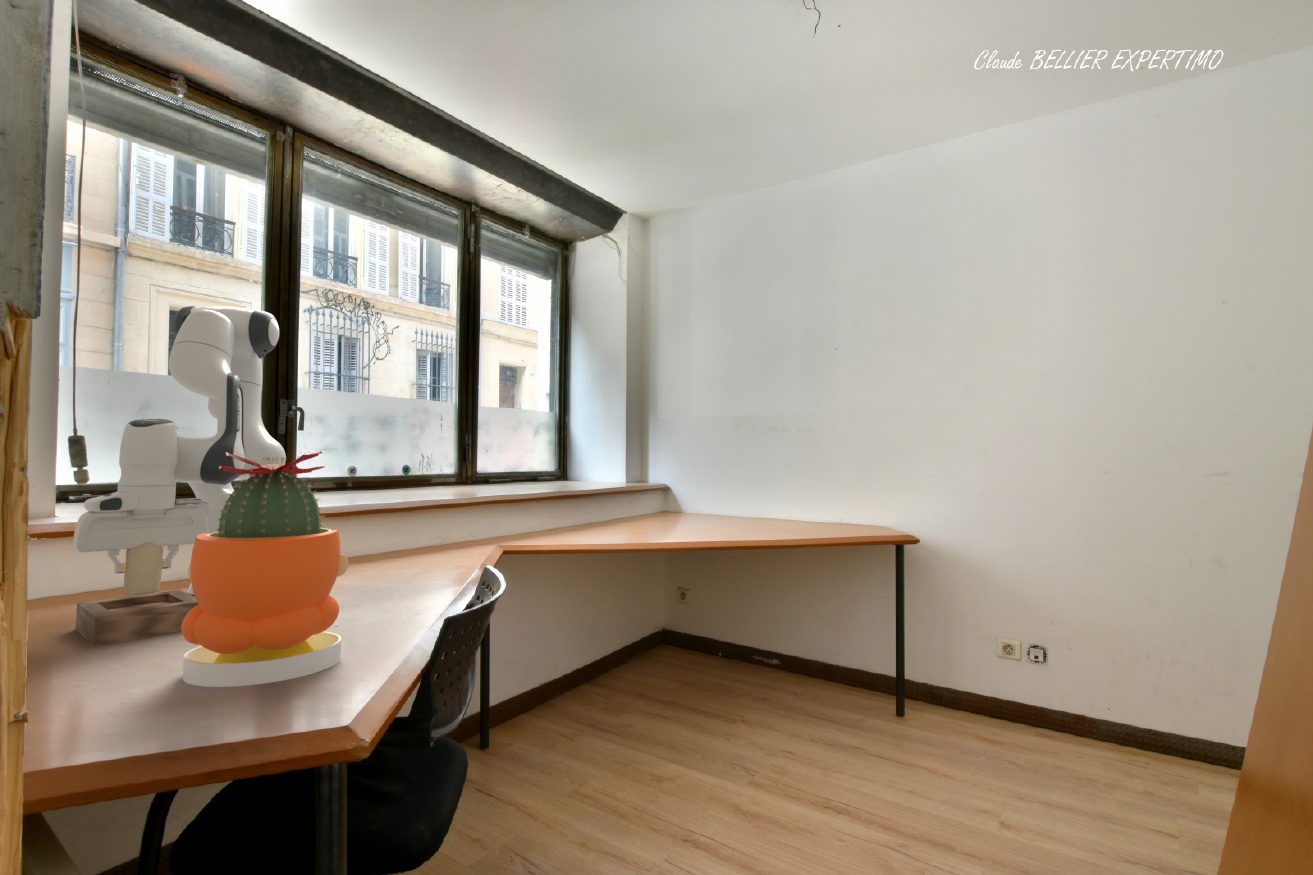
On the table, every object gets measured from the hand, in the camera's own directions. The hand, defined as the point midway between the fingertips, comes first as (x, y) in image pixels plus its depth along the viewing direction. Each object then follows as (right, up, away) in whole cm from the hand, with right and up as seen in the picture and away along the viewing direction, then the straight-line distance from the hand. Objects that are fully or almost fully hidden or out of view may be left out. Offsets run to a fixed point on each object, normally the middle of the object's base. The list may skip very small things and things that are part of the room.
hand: (142, 570), depth 117 cm
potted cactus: (+39, -11, -23) cm, 47 cm away
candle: (0, -4, -1) cm, 4 cm away
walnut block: (0, -12, 0) cm, 12 cm away
